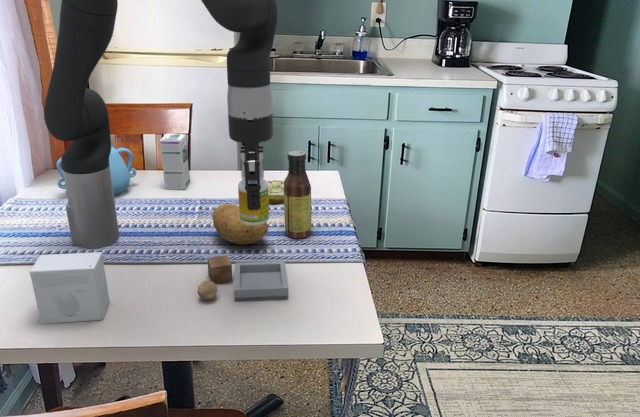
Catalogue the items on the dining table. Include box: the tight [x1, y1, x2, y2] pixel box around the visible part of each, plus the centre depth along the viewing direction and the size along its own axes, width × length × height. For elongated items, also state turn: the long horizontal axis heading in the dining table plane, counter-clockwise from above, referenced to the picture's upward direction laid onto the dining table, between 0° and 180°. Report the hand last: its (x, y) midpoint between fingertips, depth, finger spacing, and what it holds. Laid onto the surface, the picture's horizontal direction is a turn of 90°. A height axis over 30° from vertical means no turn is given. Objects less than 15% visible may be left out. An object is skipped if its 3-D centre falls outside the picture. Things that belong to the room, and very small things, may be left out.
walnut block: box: [207, 254, 233, 285], centre depth 108 cm, size 4×4×4 cm
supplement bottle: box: [237, 168, 270, 225], centre depth 98 cm, size 5×5×10 cm
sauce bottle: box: [283, 150, 312, 240], centre depth 124 cm, size 6×6×20 cm
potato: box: [211, 203, 269, 245], centre depth 122 cm, size 10×14×8 cm
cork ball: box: [197, 279, 218, 301], centre depth 102 cm, size 4×4×4 cm
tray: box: [233, 260, 289, 302], centre depth 106 cm, size 10×10×2 cm
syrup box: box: [159, 132, 191, 191], centre depth 149 cm, size 6×6×14 cm
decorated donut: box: [266, 179, 285, 204], centre depth 147 cm, size 10×11×4 cm
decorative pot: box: [55, 145, 137, 196], centre depth 144 cm, size 16×16×14 cm
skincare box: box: [29, 251, 111, 325], centre depth 95 cm, size 10×6×10 cm, turn 98°
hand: (253, 202), depth 99 cm, fingers closed on supplement bottle, 5 cm apart
